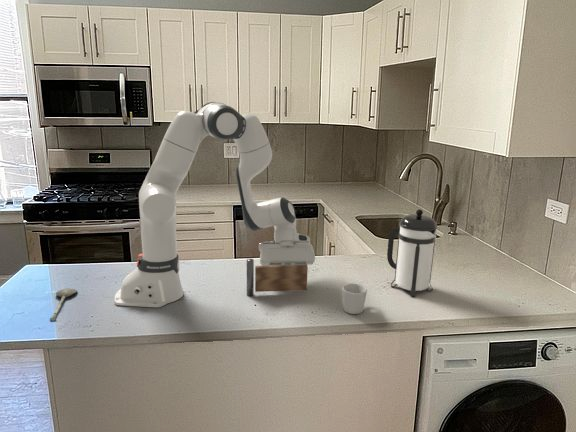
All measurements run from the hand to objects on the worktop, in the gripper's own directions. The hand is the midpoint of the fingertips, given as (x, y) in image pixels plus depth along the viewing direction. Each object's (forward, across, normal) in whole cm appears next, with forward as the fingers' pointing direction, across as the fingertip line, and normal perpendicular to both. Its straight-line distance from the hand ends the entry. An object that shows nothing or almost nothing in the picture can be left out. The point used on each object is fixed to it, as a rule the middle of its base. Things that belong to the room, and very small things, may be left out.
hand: (288, 275), depth 157 cm
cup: (+16, +20, -9) cm, 27 cm away
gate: (+6, -3, -1) cm, 7 cm away
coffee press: (+6, +44, +2) cm, 44 cm away
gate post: (+7, -14, 0) cm, 16 cm away
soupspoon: (+9, -75, -1) cm, 76 cm away
